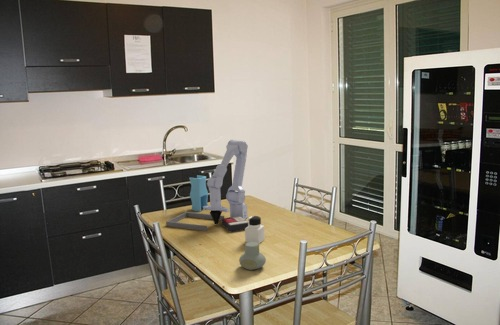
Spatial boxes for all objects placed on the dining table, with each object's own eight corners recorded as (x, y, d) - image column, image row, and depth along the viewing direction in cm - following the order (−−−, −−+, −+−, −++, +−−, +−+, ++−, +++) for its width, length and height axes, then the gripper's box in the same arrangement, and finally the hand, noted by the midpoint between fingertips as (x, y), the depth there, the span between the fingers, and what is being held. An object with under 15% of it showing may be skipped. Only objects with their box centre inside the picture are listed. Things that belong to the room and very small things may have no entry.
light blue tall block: (199, 206, 285) (197, 175, 281) (208, 208, 280) (207, 176, 277) (190, 209, 278) (188, 177, 275) (200, 211, 274) (198, 178, 270)
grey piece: (224, 220, 255) (224, 215, 255) (206, 231, 238) (206, 226, 237) (186, 215, 266) (186, 211, 265) (166, 226, 248) (166, 221, 248)
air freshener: (236, 269, 188) (235, 246, 186) (244, 261, 195) (243, 239, 194) (261, 272, 184) (261, 249, 182) (268, 264, 192) (267, 242, 190)
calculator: (240, 215, 252) (249, 221, 238) (240, 223, 253) (250, 229, 239) (221, 218, 248) (229, 224, 234) (221, 225, 249) (230, 232, 235)
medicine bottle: (264, 239, 222) (264, 215, 220) (258, 244, 216) (258, 219, 214) (251, 237, 225) (250, 214, 223) (245, 242, 219) (244, 218, 217)
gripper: (199, 200, 243) (201, 224, 246) (223, 202, 237) (224, 227, 240) (206, 196, 250) (207, 220, 252) (230, 199, 243) (231, 223, 246)
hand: (216, 223), depth 246 cm, fingers closed
